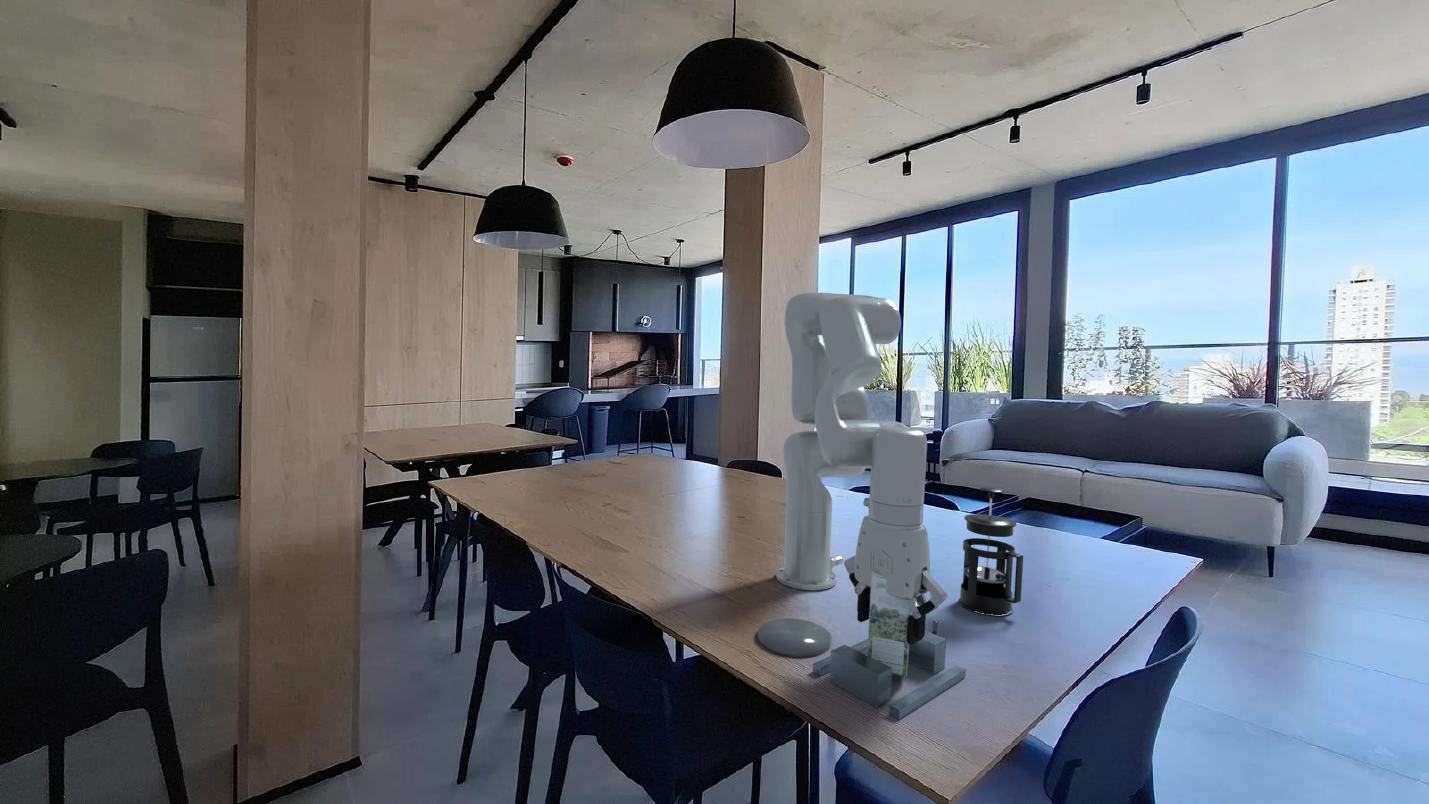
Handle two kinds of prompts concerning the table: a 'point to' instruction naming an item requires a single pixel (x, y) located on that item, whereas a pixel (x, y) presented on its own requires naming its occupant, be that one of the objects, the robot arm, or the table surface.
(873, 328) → the robot arm
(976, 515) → the french press
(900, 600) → the syrup box
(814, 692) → the table surface
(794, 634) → the coaster
